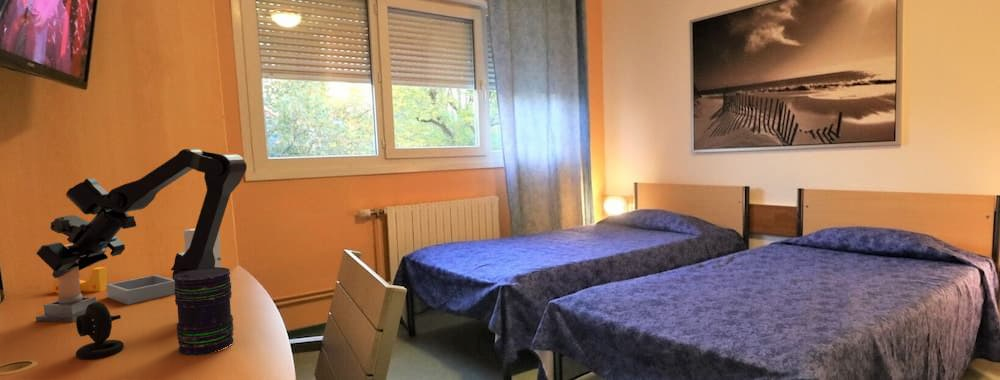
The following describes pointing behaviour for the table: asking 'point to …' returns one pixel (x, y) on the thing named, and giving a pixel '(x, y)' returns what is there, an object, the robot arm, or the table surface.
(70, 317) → the stud base
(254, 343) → the table surface
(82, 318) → the webcam
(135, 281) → the bin
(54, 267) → the robot arm
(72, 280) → the tan rounded tapered piece
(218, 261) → the skincare box
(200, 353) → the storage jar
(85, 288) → the pipe clamp
